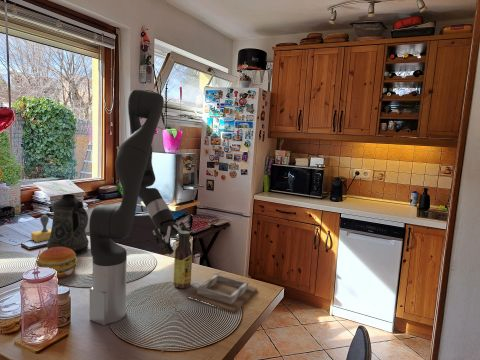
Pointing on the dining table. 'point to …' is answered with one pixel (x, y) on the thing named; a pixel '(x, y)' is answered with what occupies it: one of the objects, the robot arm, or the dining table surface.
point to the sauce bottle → (183, 261)
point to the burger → (58, 260)
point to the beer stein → (69, 225)
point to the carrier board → (224, 292)
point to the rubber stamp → (42, 231)
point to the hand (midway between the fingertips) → (180, 250)
